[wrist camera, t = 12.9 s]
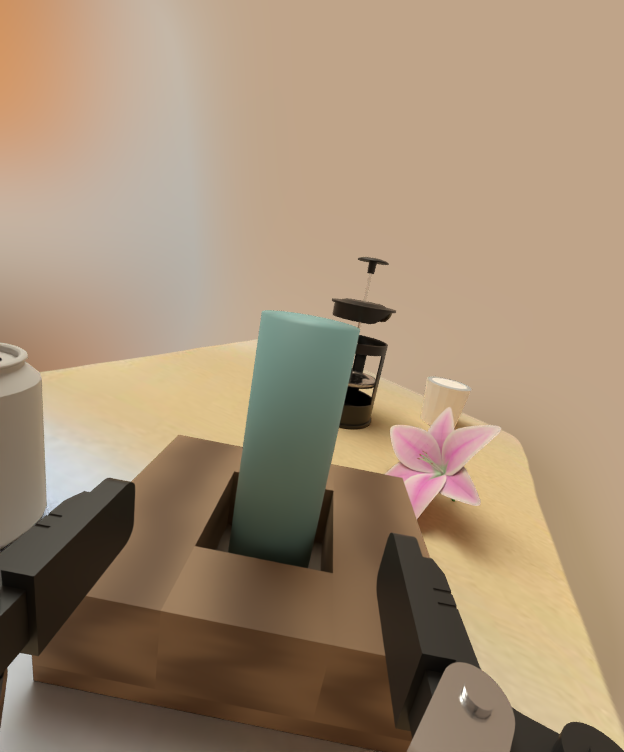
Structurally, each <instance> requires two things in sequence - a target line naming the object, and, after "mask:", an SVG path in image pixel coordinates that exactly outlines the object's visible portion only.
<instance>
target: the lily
mask: <svg viewBox="0 0 624 752" xmlns="http://www.w3.org/2000/svg"><path fill="white" fill-rule="evenodd" d="M500 430H501V428H500V427H499V426H494V425H478V426H468V427H463V428H458V429H456V430H454V421H453V414H452V409H451V408H450V407H448V408H446V409H445V410H444V411H443V412H442V413H441V414H440V415H439V416H438V417H437V419H436V420H435V421H434V423H433V424H432V425H431V427H430V428H429V430H428V432H427V431H425V430H423V429H421V428H418V427H414V426H408V425H394V426H392V427H391V429H390V437H391V442H392V446H393V449H394V452H395V454H396V456H397V458H398V459H399V460H400V462H398V463H397V464H396V465H394V466H393V467H392V468H391V469H390V470H388V471H387V472H386V473H385V475H390V476H395V477H400V478H403V481H404V484H405V487H406V490H407V492H408V495H409V498H410V501H411V504H412V507H413V510H414V513H415V516H416V519H418V517H419V516H420V515H421V513H422V512H423V511H424V509H425V508H426V507H427V506H428V504H429V503H430V502H431V501H432V500H433V499H434V497H435V496H436V495H437V494H438V493H440V494H442V495H444V496H446V497H449V498H451V499H452V501H455V500H457V501H460V502H463V503H467V504H470V505H475V506H477V505H480V498H479V495H478V493H477V490H476V488H475V486H474V484H473V482H472V480H471V478H470V476H469V474H468V472H467V470H466V469H465V468H464V465H465V464H466V463H467V462H468V461H469V460H470V459H471V458H472V457H473V456H474V455H475V454H476V453H477V452H479V451H480V450H481V449H482V448H483V447H484V446H486V445H487V444H488V443H489V442H490V441H491V440H492V439H494V438H495V437H496V436H497V435H498V433H499V432H500Z"/></svg>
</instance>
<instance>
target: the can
mask: <svg viewBox="0 0 624 752" xmlns="http://www.w3.org/2000/svg"><path fill="white" fill-rule="evenodd" d="M27 358H28V356H27V352H26V351H25V350H23V349H21V348H19V347H17V346H13V345H10V344H6V343H0V549H2V548H4V547H6V546H7V545H9V544H10V543H12V542H13V541H15V540H16V539H18V538H19V537H20V536H21V535H22V534H23V533H25V532H26V531H28V530H29V529H30V528H31V527H32V526H33V525H34V524H35V523H36V522H37V521H38V520H39V519H40V518H41V517H42V515H43V513H44V511H45V509H46V506H47V500H46V475H45V450H44V425H43V400H42V378H41V374H40V372H38V371H37V370H36V369H34V368H33V367H32V366H31V365H29V364H28V363H27V362H25V360H26V359H27Z"/></svg>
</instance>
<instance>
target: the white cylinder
mask: <svg viewBox="0 0 624 752" xmlns="http://www.w3.org/2000/svg"><path fill="white" fill-rule="evenodd" d="M470 392H471V388H470V387H469V386H467V385H465V384H462V383H460V382H457V381H454V380H451V379H446V378H441V377H428V378H427V383H426V388H425V394H424V399H423V405H422V410H421V416H420V418H421V420H422V421H423V422H424V423H426V424H428V425H430V426H431V425H432V424H433V423H434V421H435V420H436V419H437V417H438V416H439V415H440V414H441V413H442V412H443V411H444V410H445V409H446V408H448V407H450V408H451V409H452V414H453V421H454V428H455V426H456V424H457V422H458V420H459V417H460V415H461V413H462V410H463V408H464V406H465V403H466V401H467V399H468V397H469V394H470Z"/></svg>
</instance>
